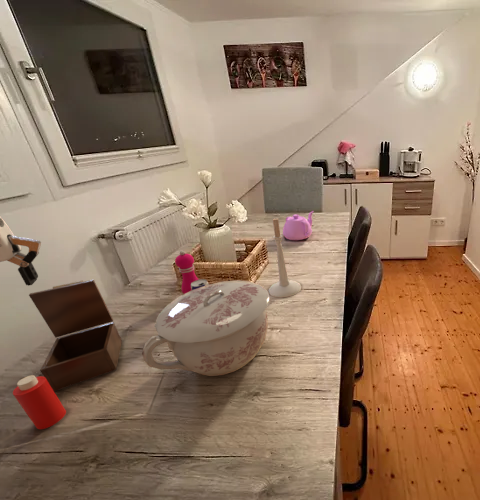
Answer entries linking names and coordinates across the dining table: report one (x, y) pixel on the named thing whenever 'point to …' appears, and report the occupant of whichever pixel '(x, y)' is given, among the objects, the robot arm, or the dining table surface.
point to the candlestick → (282, 270)
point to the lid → (72, 307)
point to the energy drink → (198, 284)
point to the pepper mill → (186, 270)
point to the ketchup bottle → (39, 401)
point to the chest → (82, 356)
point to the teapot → (298, 227)
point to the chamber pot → (212, 328)
